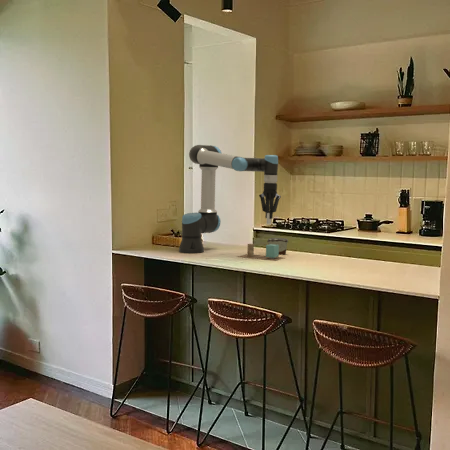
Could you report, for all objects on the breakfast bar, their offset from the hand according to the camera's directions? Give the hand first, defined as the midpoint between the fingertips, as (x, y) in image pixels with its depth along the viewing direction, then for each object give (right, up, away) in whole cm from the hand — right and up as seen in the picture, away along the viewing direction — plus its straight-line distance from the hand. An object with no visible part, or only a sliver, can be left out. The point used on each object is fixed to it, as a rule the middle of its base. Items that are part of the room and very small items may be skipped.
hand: (268, 224), depth 318 cm
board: (-4, -19, -1) cm, 20 cm away
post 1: (-10, -18, +3) cm, 21 cm away
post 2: (+2, -19, -4) cm, 20 cm away
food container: (+6, -18, +14) cm, 24 cm away
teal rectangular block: (+2, -18, -5) cm, 19 cm away
